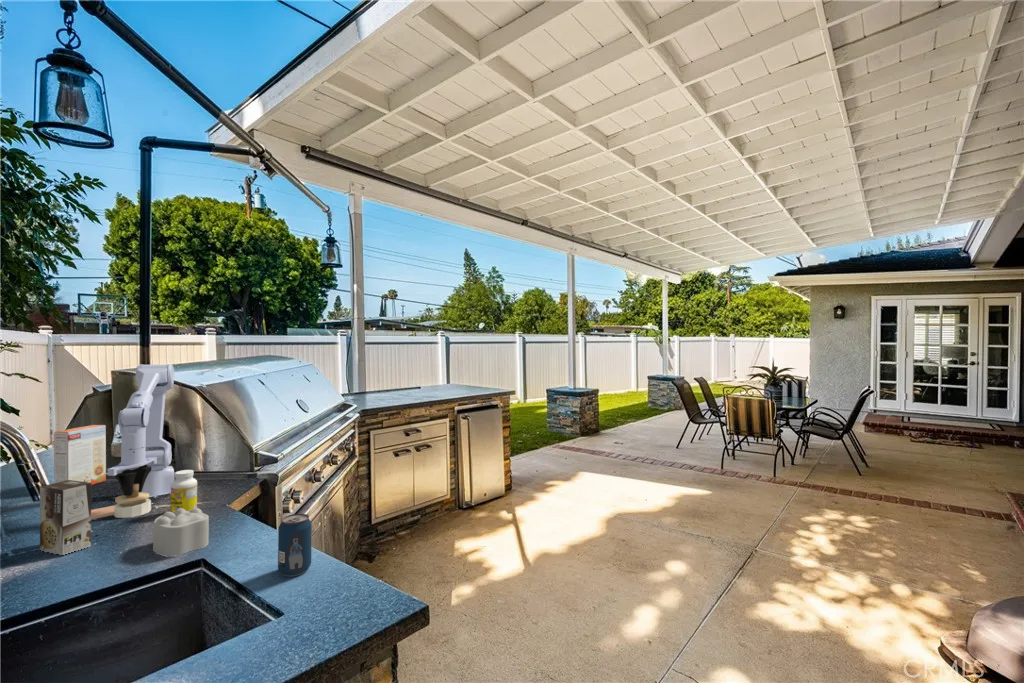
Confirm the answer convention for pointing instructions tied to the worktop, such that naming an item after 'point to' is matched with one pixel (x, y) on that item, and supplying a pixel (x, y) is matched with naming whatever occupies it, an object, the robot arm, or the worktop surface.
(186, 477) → the supplement bottle
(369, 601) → the worktop surface
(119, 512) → the bowl
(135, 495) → the bamboo lid
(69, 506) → the coffee box
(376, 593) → the worktop surface
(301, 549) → the soda can
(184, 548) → the beige bumpy block
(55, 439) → the cracker box
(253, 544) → the worktop surface
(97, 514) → the mat
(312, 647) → the worktop surface
